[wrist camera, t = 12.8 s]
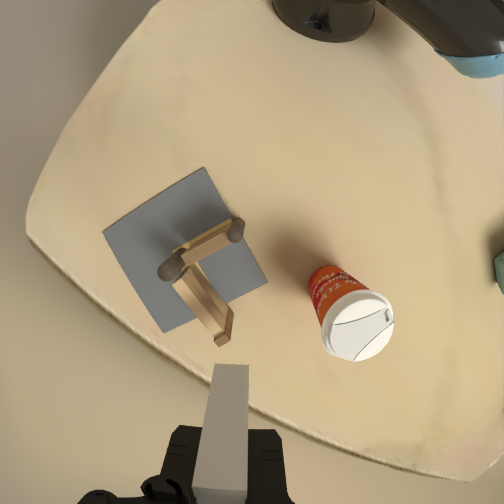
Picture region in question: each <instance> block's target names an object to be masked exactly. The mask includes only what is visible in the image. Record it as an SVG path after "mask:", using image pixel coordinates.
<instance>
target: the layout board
mask: <svg viewBox="0 0 504 504" xmlns="http://www.w3.org/2000/svg"><path fill="white" fill-rule="evenodd" d="M233 221H234V220H233V218H232V216H231V215H230V213H229V211H228V209H227V207H226V206H225V204H224V202H223V200H222V198H221V197H220V195H219V193H218V191H217V189H216V187H215V186H214V184H213V182H212V180H211V178H210V177H209V175H208V173H207V171H206V169H205V167H204V168H202V169H200V170H199V171H197V172H195V173H193V174H192V175H190V176H188V177H187V178H185V179H183V180H182V181H180V182H178V183H177V184H175V185H173V186H172V187H170V188H168V189H167V190H165V191H164V192H162V193H160V194H159V195H157V196H156V197H154V198H153V199H151V200H149V201H148V202H146V203H145V204H143V205H142V206H140V207H139V208H137V209H136V210H134V211H133V212H131V213H130V214H128V215H127V216H125V217H124V218H122V219H121V220H119V221H118V222H116V223H115V224H114V225H112V226H111V227H109V228H108V229H106V230H105V231H104V232H102V233H103V235H104V237H105V238H106V240H107V242H108V244H109V246H110V248H111V249H112V251H113V253H114V255H115V257H116V258H117V260H118V262H119V264H120V265H121V267H122V269H123V271H124V272H125V274H126V276H127V277H128V279H129V281H130V282H131V284H132V286H133V287H134V289H135V290H136V292H137V294H138V295H139V297H140V298H141V300H142V302H143V303H144V305H145V306H146V308H147V309H148V311H149V312H150V314H151V315H152V317H153V318H154V320H155V321H156V323H157V324H158V326H159V327H160V329H161V330H162V332H163V333H165V332H168V331H170V330H172V329H174V328H176V327H178V326H180V325H182V324H185V323H187V322H189V321H191V320H193V319H195V318H197V316H196V315H195V314H194V313H193V311H192V310H191V309H190V308H189V306H188V305H187V304H186V303H185V301H184V300H183V299H182V298H181V296H180V295H179V294H178V293H177V291H176V290H175V289H174V287H173V286H172V284H173V283H174V281H175V280H176V279H177V278H178V276H179V275H180V274H181V273H182V271H183V270H184V269H185V268H186V267H187V265H186V264H185V265H184V266H183V268H182V269H181V270H180V271H179V272H178V274H177V275H176V276H175V277H174V278H173V280H171V281H169V282H165V281H162V280H161V279H160V278H159V277H158V275H157V269H158V267H159V266H160V265H161V264H162V263H163V262H164V261H165V260H167V259H168V258H169V257H170V256H171V255H172V254H173V253H175V252H176V251H177V250H178V249H180V248H186V249H188V248H189V247H190V246H191V245H192V244H193V243H195V242H197V241H198V240H200V239H202V238H204V237H206V236H207V235H209V234H211V233H213V232H215V231H216V230H218V229H220V228H222V227H224V226H226V225H227V224H229V223H231V222H233ZM195 265H196V266H197V267H198V269H199V270H200V271H201V273H202V274H203V275H204V277H205V278H206V279H207V281H208V282H209V283H210V284H211V286H212V287H213V288H214V290H215V291H216V292H217V293H218V295H219V296H220V297H221V299H222V300H223V301H224V302H225V304H226V303H228V302H230V301H232V300H234V299H236V298H238V297H240V296H242V295H244V294H246V293H248V292H250V291H252V290H254V289H256V288H258V287H260V286H262V285H264V284H266V283H268V282H267V280H266V278H265V276H264V275H263V273H262V271H261V269H260V267H259V265H258V264H257V262H256V260H255V258H254V256H253V255H252V253H251V251H250V249H249V247H248V246H247V244H246V242H245V240H244V238H242V240H241V241H240V242H238V243H230V244H229V245H227V246H225V247H223V248H221V249H219V250H217V251H216V252H214V253H212V254H210V255H208V256H206V257H204V258H203V259H201V260H199V261H197V262H195Z"/></svg>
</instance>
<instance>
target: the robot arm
mask: <svg viewBox="0 0 504 504" xmlns="http://www.w3.org/2000/svg"><path fill="white" fill-rule="evenodd" d="M375 1H376V0H272V4H273V7H274V10H275V12H276V14H277V15H278V16H279V18H280V19H281V20H282V21H283V22H284V23H285V24H286V25H288V26H289V27H290V28H292V29H293V30H295V31H296V32H298V33H300V34H302V35H304V36H307V37H309V38H312V39H315V40H319V41H324V42H332V43H341V42H348V41H352V40H355V39H357V38H359V37H360V36H362V35H363V34H364V33H365V32H366V31H367V29H368V28H369V27H370V26H371V24H372V22H373V20H374V16H375V7H374V6H375ZM377 1H378V2H379V3H381V4H382V5H383V6H385V7H386V8H387V9H389V10H390V11H391V12H392V13H394V14H395V15H396V16H398V17H399V18H400V19H401V20H403V21H404V22H405V23H406V24H407V25H409V26H410V27H411V28H412V29H413V30H414V31H416V32H417V33H418V34H419V35H420V36H421V37H422V38H423V39H424V40H426V41H427V42H428V43H429V44H430V45H431V46H432V47H433V48H434V50H435V52H436V53H437V54H439V55H440V56H442V57H444V58H445V59H446V60H447V61H448V62H449V63H450V64H451V65H452V66H453V67H454V68H455V69H456V70H457V71H458V72H460V73H461V74H463V75H465V76H469V77H471V78H479V79H480V78H490V77H494V76H497V75H500V74H503V73H504V0H377ZM248 391H249V365H235V364H215V366H214V371H213V376H212V381H211V386H210V391H209V396H208V402H207V407H206V412H205V417H204V423H203V427H194V426H185V425H179V426H178V428H177V429H176V430H175V431H174V432H173V433H172V435H171V438H170V441H169V446H168V448H167V452H166V455H165V459H164V462H163V466H162V469H161V473H160V475H156V476H153V477H150V478H149V479H147V480H145V481H144V482H143V484H142V485H141V487H140V488H141V490H142V492H143V493H144V496H142V497H132V498H131V497H129V498H117V497H116V496H115V495H114V494H113V493H111V492H108V491H105V490H93V491H90V492H88V493H87V494H86V495H84V497H83V498H82V499H81V500H80V501H79V502H78V503H77V504H295V503H294V502H292V501H291V499H290V498H289V496H288V493H287V486H286V476H285V467H284V457H283V449H282V439H281V438H280V436H279V435H278V433H277V432H276V431H275V429H248Z"/></svg>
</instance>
